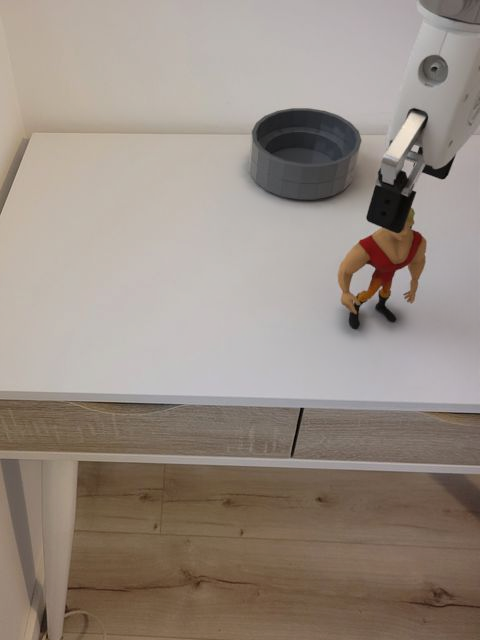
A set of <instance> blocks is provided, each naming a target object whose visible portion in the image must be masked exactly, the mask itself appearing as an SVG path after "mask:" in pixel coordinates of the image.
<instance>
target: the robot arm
mask: <svg viewBox="0 0 480 640" xmlns="http://www.w3.org/2000/svg"><path fill="white" fill-rule="evenodd" d="M415 9H416V11H417V12H418V14H419V15H420V16H421V17H422V18H423V19H422V22H421V25H420V27H419V31H418V33H417V36H416V38H415V42H414V44H413V47H412V49H411V53H410V55H409V59H408V62H407V65H406V68H405V70H404V72H403V73H404V74H403V77H402V80H401V83H400V86H399V89H398V92H397V95H396V99H395V103H394V105H393V108H392V111H391V115H390V119H389V123H388V125H387V126H388V127H387V131H386V136H385V139H384V141H385V142H384V147H385V150H386V151H385V153H384V154H383V156H382V158H381V162H380V168H379V169H378V171H377V177H376V179H375V184H374V189H373V191H372V195H371V200H370V202H369V205H368V210H367V213H366V217H365V219H366V221H367V222H368V223H371V224H373V225H375V226H378V227H380V228H385V229H387V230H390V231H392V232H395V233H400V232H401V231H402V230H403V229H404V226H405V223H406V221H407V218H408V215H409V212H410V209H411V208H412V206H413V204H414V200H415V198H416V195H417V191H416V190H414V188H415V186H416V184H417V182H418V180H419V178H420V176H421V175H422V174H425V175H428V176H430V177H433V178H436V179H439V180H445V179H447V177H448V176H449V174H450V171H451V169H452V166H453V164H454V162H455V158H456V155H457V154H458V152H459V151H460V150H461V149H462V148H463V147H464V145H466V143H467V142H468V140H469V139H470V138H471V137H472V136H473V135H474V133H475V132H476V131H477V129H478V128H479V126H480V0H416V2H415ZM414 146H417V147H418V149H417V152H416V151H414V150H412V149H413V147H414ZM405 161H408V162H411V163H412V169H411V171H410V173H409V174H408V175H407V172H406V171H405V170H403V168H404V167H405Z"/></svg>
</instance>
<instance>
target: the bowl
mask: <svg viewBox="0 0 480 640" xmlns="http://www.w3.org/2000/svg"><path fill="white" fill-rule="evenodd" d="M361 144H362V137H361V133H360V131H359V129H358V128H357V127H356V126H354V124H353V123H352V122H350V120H347V119H345V118H344V117H343V116H341V115H339V114H336V113H333V112H330V111H327V110H322V109H315V108H310V107H309V108H308V107H293V108H291V107H290V108H287V109H286V108H285V109H280V110H276V111H273V112H271V113H268V114H266V115H264V116H263V117H262V118H260V119H259V120H258V121H256V122H255V124H254V126H253V128H252V130H251V136H250V147H249V158H248V159H249V160H248V167H249V168H248V170H249V174H250V176H251V177H252V179H253V180H254V182H255V183H256V184H258V185H259V186H260V187H262V188H263V189H264V190H266V191H267V192H269V193H272V194H275V195H276V196H279V197H283V198H289V199H293V200H319V199H323V198H329V197H332V196H334V195H336V194H338V193H339V194H340V193H341V192H343V191H344V190H345V189H346V188H347V187H348V186H349V185H350V184H351V183H352V181H353V178H354V175H355V170H356V169H355V168H356V165H357V162H358V158H359V153H360V149H361Z"/></svg>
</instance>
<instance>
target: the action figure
mask: <svg viewBox="0 0 480 640" xmlns="http://www.w3.org/2000/svg"><path fill="white" fill-rule="evenodd" d="M415 214H416V212H415V210H414V208H413V207H411V209H410V212H409V215H408V218H407V221H406V223H405V226H404V229H403V230H402V231H401V232H400V233H395V232H392V231H390V230H387V229H385V228H382V227H380V228H379V229H377V230H376V231H374V232H373V233H372V234H370V235H368V236H366V237H365V238H362V239H359V241H358V242H357V243H356V244H355V245H354V246H353V247H352V248H351V249H350V250H349V251H348V252H347V254H346V255H345V257H344V259H342V261H341V263H340V264H339V267H338V271H337V283H338V286H339V288H340V290H341V291H342V292H341V295H340V303H341V305H343V306H344V307H345V308H346V309H348V311H349V312H348V313H349V314H348V324H349V326H350V328H352V329H354V330H358V329H359V328H360V325H361V322H360V319H359V314H360V313H359V312H360V307H361V306H362V305H363V304H364V303H366V302H368V300H371V299H372V298H373V297H374V296H375V294H376V293H377V292H378V296H377V297H378V302H377V303H376V304H375V306H374V309H375V310H376V311H378V312H380V313H381V314H383V315H384V317H385V318H386V319H387V321H389V322H390V323H395V322H396V321H397V317H396V315H395V314H394V313H393V312H392V311H391V310H390V309H389V308H388V307H387V306H386V303H387V301H388V300H389V298H390V297H391V295H392V291H391V289H392V284H393V280H394V279H393V278H394V277H395V274H396V272H397V271H399V270H402V269H404V268H406V267H407V269H408V271H409V274H410V276H411V279H410V282H409V284H410V285H409V286H410V287H409V289H410V290H409V291H407V292H404V293H403V294H402V295H403V299H404V300H406V303H409V304H410V305H412V304H413V303H414V302H415V301H416V300H415V299H416V294H417V291H418V288H419V280H420V278H421V275H422V274H423V272H424V269H425V265H426V261H427V259H426V251H427V242H428V241H427V239H426V238H425V237H424V236H423V235H422V233H421V232H419V231H417V230H414V229H413V225H415V220H414V218H415V217H414V216H415ZM366 265H370V266H371V267H373V268H374V271H373V273H372V274H371V280H370V283H369V285H368V286H367V287H368V288H367V289H366V290H362V291H360V292H358V293H357V295H356V296H355V295H354V294H353V293H351V290H350V287H351V284H352V283H351V282H352V279H353V276H354V274H356V273H357V272H359V270H361V269H362V268H363V267H365V266H366Z"/></svg>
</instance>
